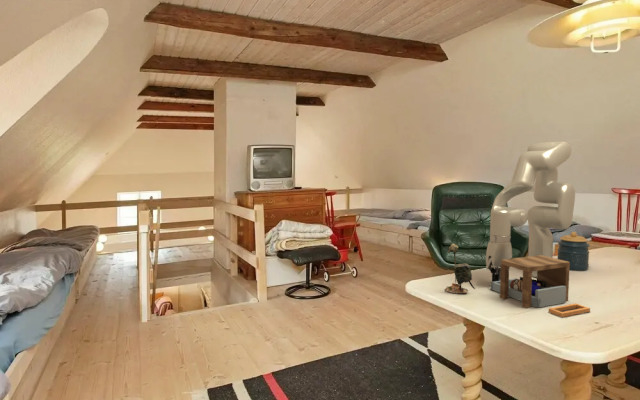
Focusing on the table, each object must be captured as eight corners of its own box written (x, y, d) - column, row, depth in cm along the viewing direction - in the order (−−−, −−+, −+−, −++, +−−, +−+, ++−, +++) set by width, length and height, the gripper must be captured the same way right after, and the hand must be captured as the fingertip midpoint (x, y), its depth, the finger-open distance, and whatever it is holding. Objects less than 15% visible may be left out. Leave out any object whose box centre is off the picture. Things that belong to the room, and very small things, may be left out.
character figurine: (551, 306, 136) (507, 296, 147) (558, 300, 141) (515, 290, 152) (551, 285, 135) (507, 276, 146) (558, 279, 140) (515, 271, 151)
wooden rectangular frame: (575, 307, 134) (575, 303, 134) (589, 312, 130) (590, 308, 129) (548, 312, 130) (548, 308, 130) (562, 317, 125) (562, 313, 125)
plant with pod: (469, 297, 145) (470, 246, 144) (441, 291, 153) (442, 242, 151) (477, 292, 151) (478, 243, 149) (450, 286, 159) (450, 239, 157)
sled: (508, 282, 162) (508, 266, 162) (565, 302, 138) (566, 283, 137) (483, 286, 158) (483, 269, 157) (537, 307, 134) (538, 288, 133)
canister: (588, 266, 187) (589, 231, 186) (589, 272, 177) (590, 235, 175) (557, 263, 195) (558, 228, 193) (556, 268, 184) (557, 232, 182)
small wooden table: (539, 291, 152) (540, 255, 151) (568, 300, 141) (569, 262, 139) (499, 297, 145) (500, 259, 144) (526, 308, 134) (528, 267, 132)
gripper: (508, 236, 163) (506, 278, 165) (477, 239, 158) (476, 282, 159) (522, 239, 156) (521, 282, 158) (491, 242, 151) (490, 287, 152)
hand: (498, 282), depth 158 cm, fingers closed on sled, 3 cm apart
